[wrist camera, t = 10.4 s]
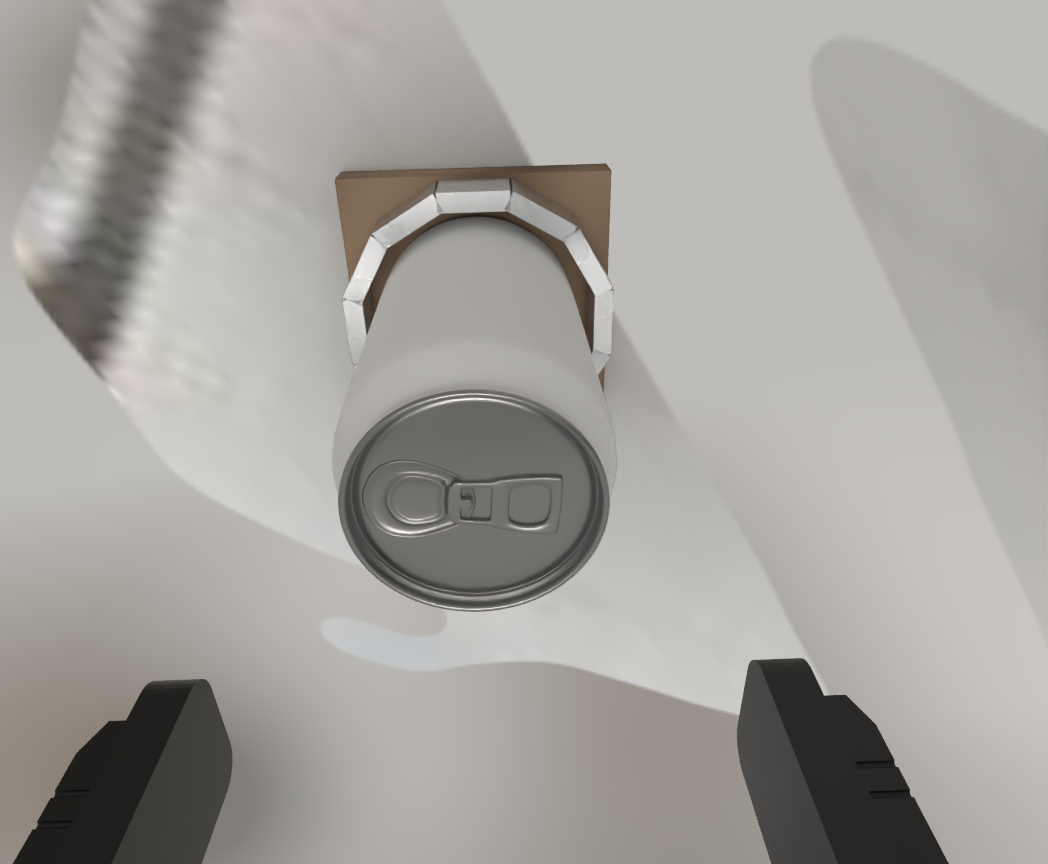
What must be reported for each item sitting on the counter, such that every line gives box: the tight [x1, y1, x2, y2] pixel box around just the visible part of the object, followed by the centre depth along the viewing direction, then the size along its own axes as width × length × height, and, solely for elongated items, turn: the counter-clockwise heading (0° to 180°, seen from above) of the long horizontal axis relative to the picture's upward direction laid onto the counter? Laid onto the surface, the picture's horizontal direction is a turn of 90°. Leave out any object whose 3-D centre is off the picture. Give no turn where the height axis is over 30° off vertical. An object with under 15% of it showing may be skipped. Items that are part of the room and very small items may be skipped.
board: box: [335, 164, 611, 391], centre depth 26 cm, size 9×9×1 cm
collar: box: [343, 177, 614, 375], centre depth 25 cm, size 9×9×2 cm
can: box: [332, 217, 617, 612], centre depth 20 cm, size 6×6×12 cm
